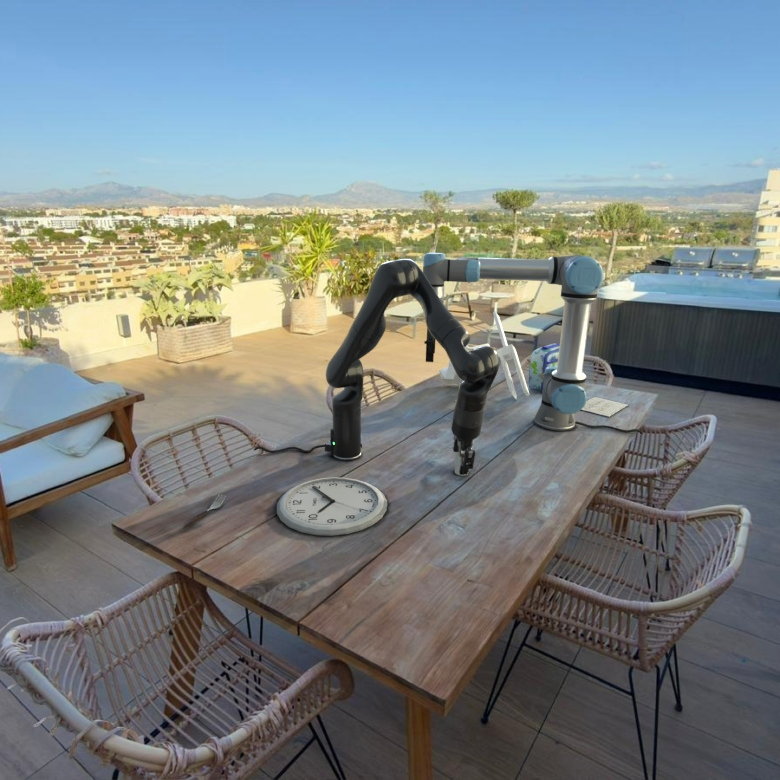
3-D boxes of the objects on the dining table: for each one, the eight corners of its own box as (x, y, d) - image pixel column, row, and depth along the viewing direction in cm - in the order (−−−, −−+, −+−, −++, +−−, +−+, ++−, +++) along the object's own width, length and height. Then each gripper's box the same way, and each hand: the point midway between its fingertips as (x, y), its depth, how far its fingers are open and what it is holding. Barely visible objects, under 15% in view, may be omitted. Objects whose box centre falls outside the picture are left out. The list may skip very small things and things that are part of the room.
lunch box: (544, 395, 239) (549, 351, 233) (524, 390, 247) (528, 347, 240) (571, 384, 257) (577, 343, 251) (552, 380, 264) (556, 339, 258)
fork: (178, 529, 130) (177, 522, 129) (219, 499, 144) (218, 493, 144) (187, 531, 129) (186, 524, 129) (227, 501, 143) (226, 494, 143)
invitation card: (608, 416, 214) (573, 407, 224) (608, 416, 214) (573, 408, 224) (628, 404, 229) (594, 396, 238) (628, 405, 229) (594, 397, 238)
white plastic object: (461, 429, 252) (437, 405, 227) (444, 352, 274) (420, 323, 250) (535, 404, 240) (518, 377, 215) (510, 326, 262) (492, 293, 237)
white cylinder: (462, 476, 160) (465, 429, 156) (451, 472, 163) (454, 426, 159) (470, 472, 163) (474, 426, 159) (460, 468, 166) (462, 422, 161)
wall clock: (392, 527, 129) (268, 531, 127) (391, 533, 130) (269, 537, 127) (383, 473, 158) (282, 475, 155) (383, 478, 158) (282, 480, 156)
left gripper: (448, 400, 138) (441, 444, 148) (459, 437, 127) (451, 482, 137) (476, 399, 139) (467, 443, 149) (489, 435, 128) (479, 481, 137)
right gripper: (424, 293, 195) (422, 349, 202) (419, 302, 172) (417, 365, 178) (444, 294, 195) (441, 350, 201) (442, 303, 171) (439, 366, 177)
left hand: (460, 462), depth 143 cm, fingers open, 8 cm apart
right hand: (430, 357), depth 190 cm, fingers open, 13 cm apart
